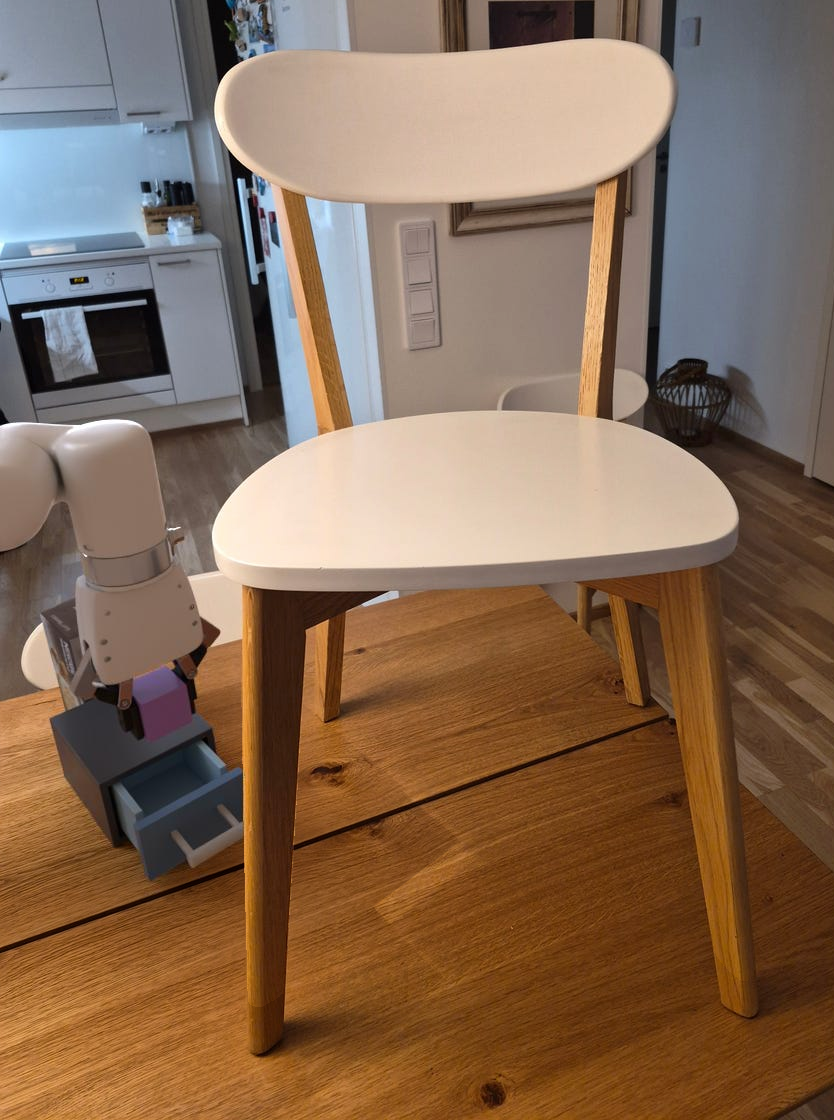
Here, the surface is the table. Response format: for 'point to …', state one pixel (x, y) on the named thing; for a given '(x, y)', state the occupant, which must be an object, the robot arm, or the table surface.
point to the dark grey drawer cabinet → (112, 755)
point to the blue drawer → (180, 809)
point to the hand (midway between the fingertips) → (160, 718)
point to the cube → (161, 703)
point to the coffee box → (64, 648)
